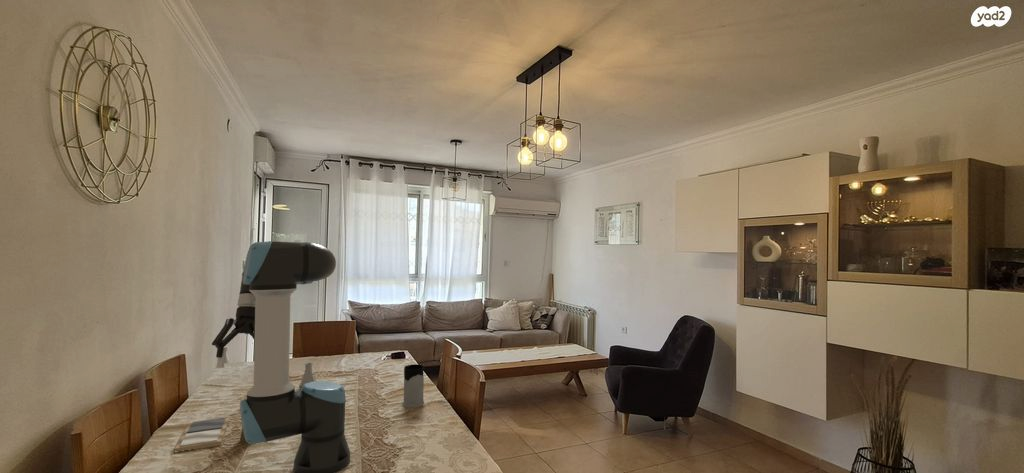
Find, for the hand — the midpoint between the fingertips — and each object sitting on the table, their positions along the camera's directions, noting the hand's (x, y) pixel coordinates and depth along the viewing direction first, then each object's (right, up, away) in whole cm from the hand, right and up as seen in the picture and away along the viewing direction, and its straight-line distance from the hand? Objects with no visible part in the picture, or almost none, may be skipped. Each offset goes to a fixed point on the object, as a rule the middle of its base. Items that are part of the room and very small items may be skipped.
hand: (239, 368), depth 152 cm
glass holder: (+52, -23, +29) cm, 64 cm away
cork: (+8, -21, -7) cm, 24 cm away
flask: (+1, -23, +49) cm, 54 cm away
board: (-9, -21, -5) cm, 23 cm away
